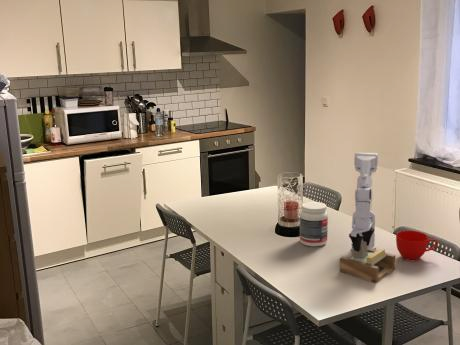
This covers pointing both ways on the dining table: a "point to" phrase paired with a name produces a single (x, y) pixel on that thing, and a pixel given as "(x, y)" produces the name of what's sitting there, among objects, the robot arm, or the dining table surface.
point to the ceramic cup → (412, 244)
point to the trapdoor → (372, 257)
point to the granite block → (362, 252)
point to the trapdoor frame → (368, 267)
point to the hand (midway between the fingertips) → (361, 248)
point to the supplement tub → (313, 224)
